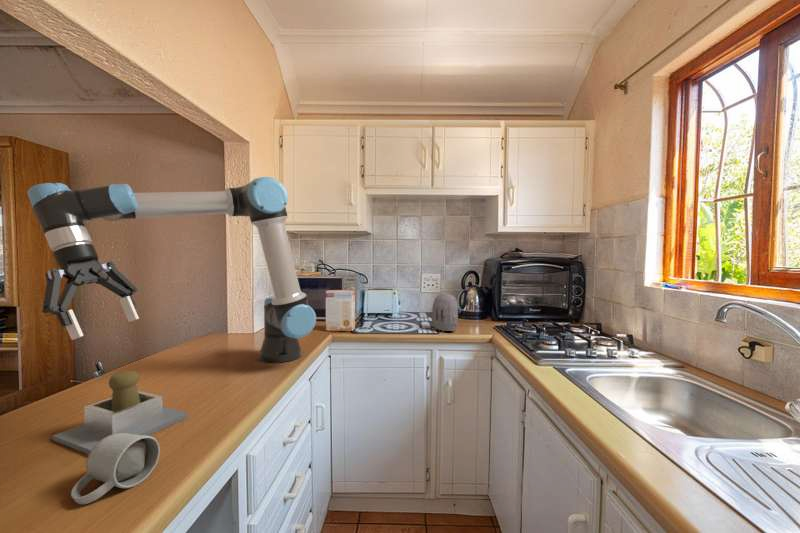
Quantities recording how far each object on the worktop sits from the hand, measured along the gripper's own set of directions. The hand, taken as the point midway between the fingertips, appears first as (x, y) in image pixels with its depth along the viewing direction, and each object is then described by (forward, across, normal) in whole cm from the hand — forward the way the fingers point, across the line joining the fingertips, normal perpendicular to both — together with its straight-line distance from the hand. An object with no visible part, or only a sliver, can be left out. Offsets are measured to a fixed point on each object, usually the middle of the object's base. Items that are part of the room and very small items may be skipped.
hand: (108, 328), depth 85 cm
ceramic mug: (+27, +25, +21) cm, 42 cm away
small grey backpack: (+56, -105, +61) cm, 133 cm away
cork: (+22, +8, +5) cm, 23 cm away
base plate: (+22, +9, +5) cm, 25 cm away
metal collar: (+22, +9, +5) cm, 25 cm away
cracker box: (+38, -94, +12) cm, 102 cm away
